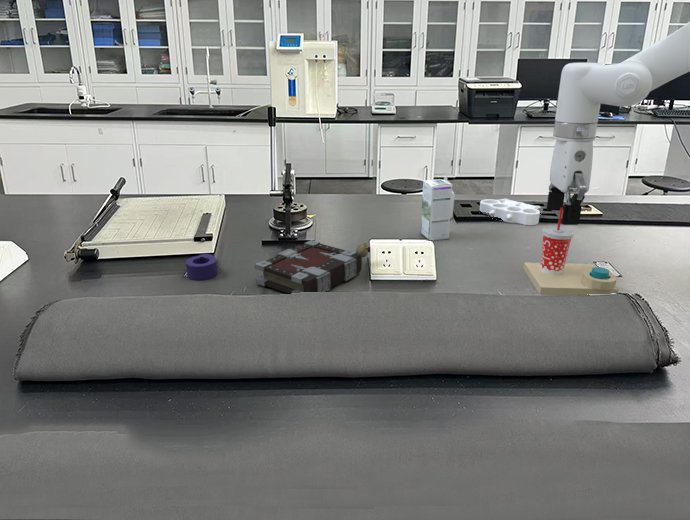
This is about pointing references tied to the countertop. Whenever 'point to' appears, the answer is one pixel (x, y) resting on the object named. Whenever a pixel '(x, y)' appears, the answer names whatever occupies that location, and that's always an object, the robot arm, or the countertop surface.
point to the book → (310, 267)
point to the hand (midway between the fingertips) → (561, 216)
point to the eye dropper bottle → (451, 200)
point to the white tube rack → (512, 211)
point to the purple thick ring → (201, 267)
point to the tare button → (600, 273)
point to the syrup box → (436, 209)
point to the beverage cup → (555, 248)
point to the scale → (570, 280)
